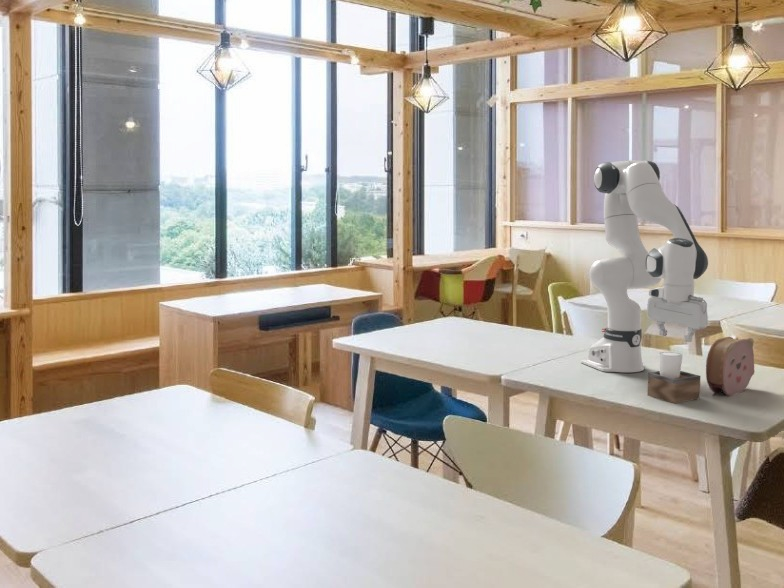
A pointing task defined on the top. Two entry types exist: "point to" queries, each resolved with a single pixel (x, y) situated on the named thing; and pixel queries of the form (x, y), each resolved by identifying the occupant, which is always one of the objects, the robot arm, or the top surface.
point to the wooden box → (674, 387)
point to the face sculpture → (730, 365)
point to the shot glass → (670, 364)
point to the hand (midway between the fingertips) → (675, 338)
